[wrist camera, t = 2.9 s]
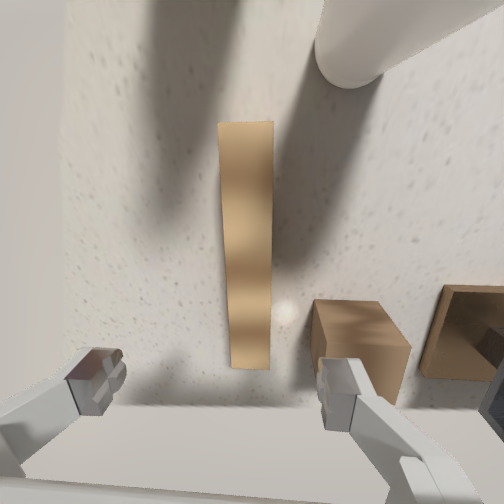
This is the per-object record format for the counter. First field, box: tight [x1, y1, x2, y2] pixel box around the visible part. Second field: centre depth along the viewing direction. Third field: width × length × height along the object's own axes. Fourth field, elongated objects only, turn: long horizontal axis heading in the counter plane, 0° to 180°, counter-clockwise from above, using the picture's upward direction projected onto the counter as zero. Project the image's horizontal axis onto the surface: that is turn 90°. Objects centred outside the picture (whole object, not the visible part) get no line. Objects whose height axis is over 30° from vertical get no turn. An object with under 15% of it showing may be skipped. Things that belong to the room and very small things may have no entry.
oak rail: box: [217, 121, 274, 370], centre depth 20 cm, size 20×4×4 cm, turn 1°
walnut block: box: [310, 299, 412, 405], centre depth 21 cm, size 6×6×6 cm
